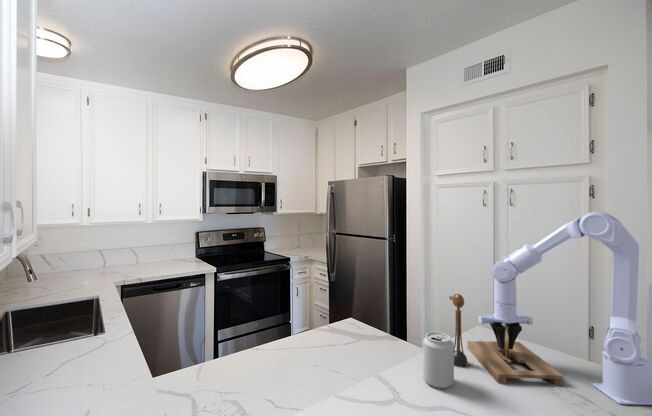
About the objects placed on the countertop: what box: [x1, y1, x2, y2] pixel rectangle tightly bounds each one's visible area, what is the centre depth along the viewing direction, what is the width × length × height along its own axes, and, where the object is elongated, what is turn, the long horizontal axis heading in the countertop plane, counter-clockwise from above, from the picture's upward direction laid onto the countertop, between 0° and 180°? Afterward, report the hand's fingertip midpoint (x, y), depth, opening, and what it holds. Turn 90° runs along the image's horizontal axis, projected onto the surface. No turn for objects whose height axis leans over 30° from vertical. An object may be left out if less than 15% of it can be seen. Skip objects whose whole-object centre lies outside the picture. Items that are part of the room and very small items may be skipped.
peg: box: [501, 324, 514, 364], centre depth 93 cm, size 4×4×10 cm
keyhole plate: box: [466, 340, 564, 386], centre depth 91 cm, size 16×20×2 cm
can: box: [422, 331, 455, 389], centre depth 82 cm, size 8×8×12 cm
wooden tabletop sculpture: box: [448, 293, 468, 368], centre depth 92 cm, size 6×5×20 cm
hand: (505, 347), depth 93 cm, fingers closed on peg, 2 cm apart
